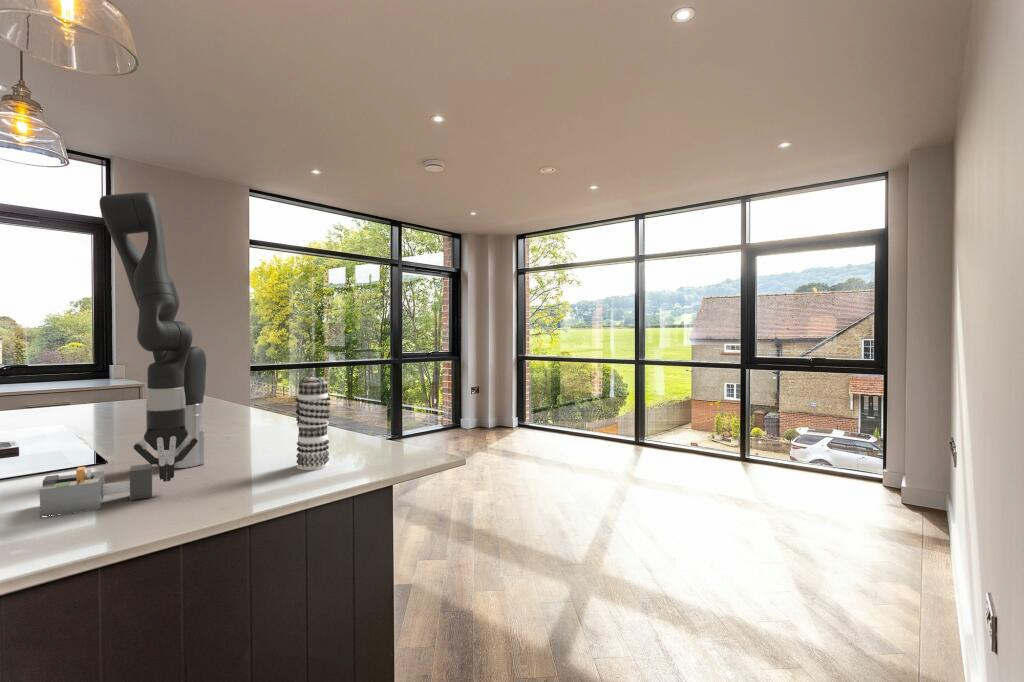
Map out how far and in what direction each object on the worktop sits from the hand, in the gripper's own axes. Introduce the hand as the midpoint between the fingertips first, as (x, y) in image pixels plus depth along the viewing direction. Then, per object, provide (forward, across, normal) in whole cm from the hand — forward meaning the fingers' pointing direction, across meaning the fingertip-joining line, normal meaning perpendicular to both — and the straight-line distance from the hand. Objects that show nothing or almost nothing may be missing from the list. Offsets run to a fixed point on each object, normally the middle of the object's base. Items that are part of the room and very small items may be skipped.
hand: (166, 480), depth 120 cm
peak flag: (+2, +15, 0) cm, 16 cm away
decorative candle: (+3, -34, -6) cm, 35 cm away
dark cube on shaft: (+3, +9, 0) cm, 9 cm away
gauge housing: (+3, +16, 0) cm, 17 cm away
